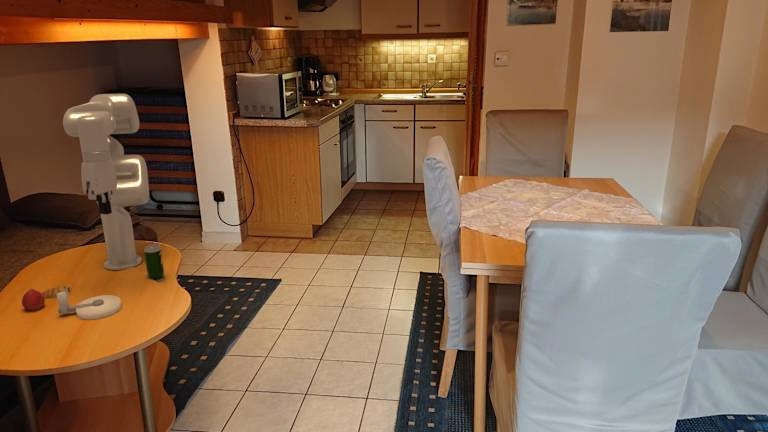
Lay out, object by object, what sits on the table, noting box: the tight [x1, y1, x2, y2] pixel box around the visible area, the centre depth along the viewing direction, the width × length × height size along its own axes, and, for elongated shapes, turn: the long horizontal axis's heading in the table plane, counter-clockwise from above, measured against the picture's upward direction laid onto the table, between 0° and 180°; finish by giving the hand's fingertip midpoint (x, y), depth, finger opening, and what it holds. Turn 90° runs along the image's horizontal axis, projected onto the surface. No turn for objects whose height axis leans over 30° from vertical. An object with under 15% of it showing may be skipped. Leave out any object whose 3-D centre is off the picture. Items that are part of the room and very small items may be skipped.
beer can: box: [143, 243, 165, 283], centre depth 186 cm, size 5×5×12 cm
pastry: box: [41, 284, 71, 300], centre depth 174 cm, size 9×7×4 cm
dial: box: [56, 292, 122, 321], centre depth 162 cm, size 16×12×7 cm
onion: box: [21, 287, 46, 312], centre depth 164 cm, size 6×6×8 cm
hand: (105, 213), depth 171 cm, fingers closed
